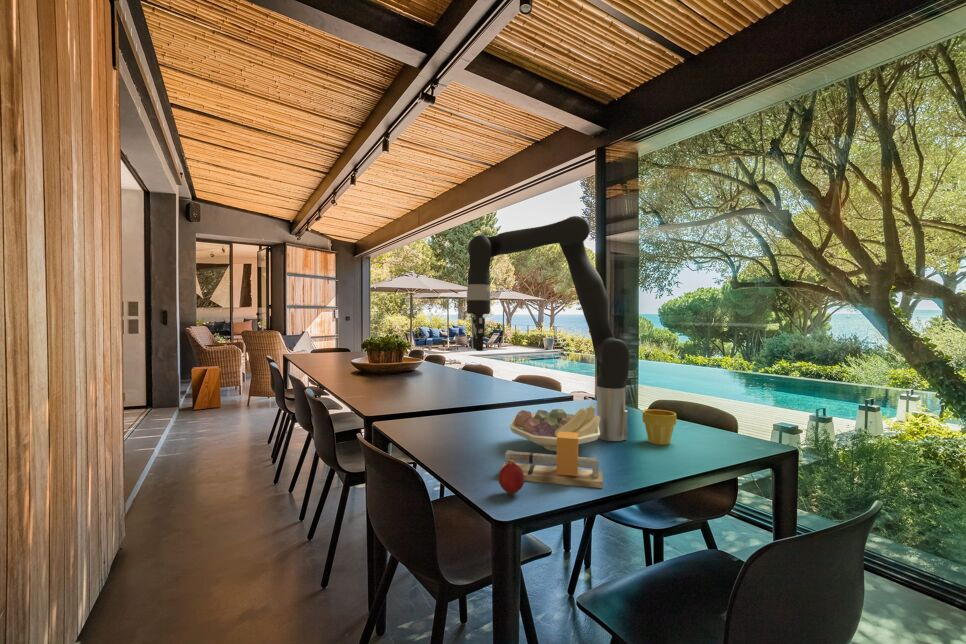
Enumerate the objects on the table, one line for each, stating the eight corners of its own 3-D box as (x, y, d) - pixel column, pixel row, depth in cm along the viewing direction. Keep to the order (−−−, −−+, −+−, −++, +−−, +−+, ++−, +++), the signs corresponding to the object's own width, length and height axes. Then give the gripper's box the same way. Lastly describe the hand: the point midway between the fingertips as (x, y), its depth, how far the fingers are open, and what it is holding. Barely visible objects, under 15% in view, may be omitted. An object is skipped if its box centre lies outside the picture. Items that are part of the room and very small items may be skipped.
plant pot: (637, 437, 155) (638, 408, 155) (669, 438, 155) (669, 409, 155) (647, 446, 145) (648, 415, 145) (681, 447, 145) (681, 416, 144)
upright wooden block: (577, 468, 117) (578, 432, 117) (577, 476, 111) (577, 438, 111) (557, 466, 118) (558, 431, 118) (556, 474, 113) (557, 437, 112)
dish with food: (612, 463, 127) (613, 412, 127) (510, 461, 128) (511, 410, 128) (590, 436, 155) (591, 394, 155) (507, 435, 156) (508, 393, 156)
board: (601, 476, 117) (602, 470, 117) (602, 488, 109) (603, 481, 109) (504, 467, 122) (504, 461, 122) (499, 478, 115) (499, 471, 115)
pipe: (598, 473, 115) (598, 457, 115) (598, 478, 112) (598, 461, 112) (507, 465, 120) (507, 450, 120) (504, 469, 117) (505, 453, 117)
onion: (508, 487, 108) (509, 454, 108) (529, 494, 105) (529, 459, 105) (493, 495, 104) (493, 459, 104) (514, 502, 100) (514, 465, 100)
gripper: (493, 298, 141) (492, 351, 141) (487, 300, 155) (486, 348, 156) (468, 298, 140) (468, 351, 140) (464, 299, 154) (464, 348, 155)
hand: (477, 349), depth 148 cm, fingers open, 8 cm apart
